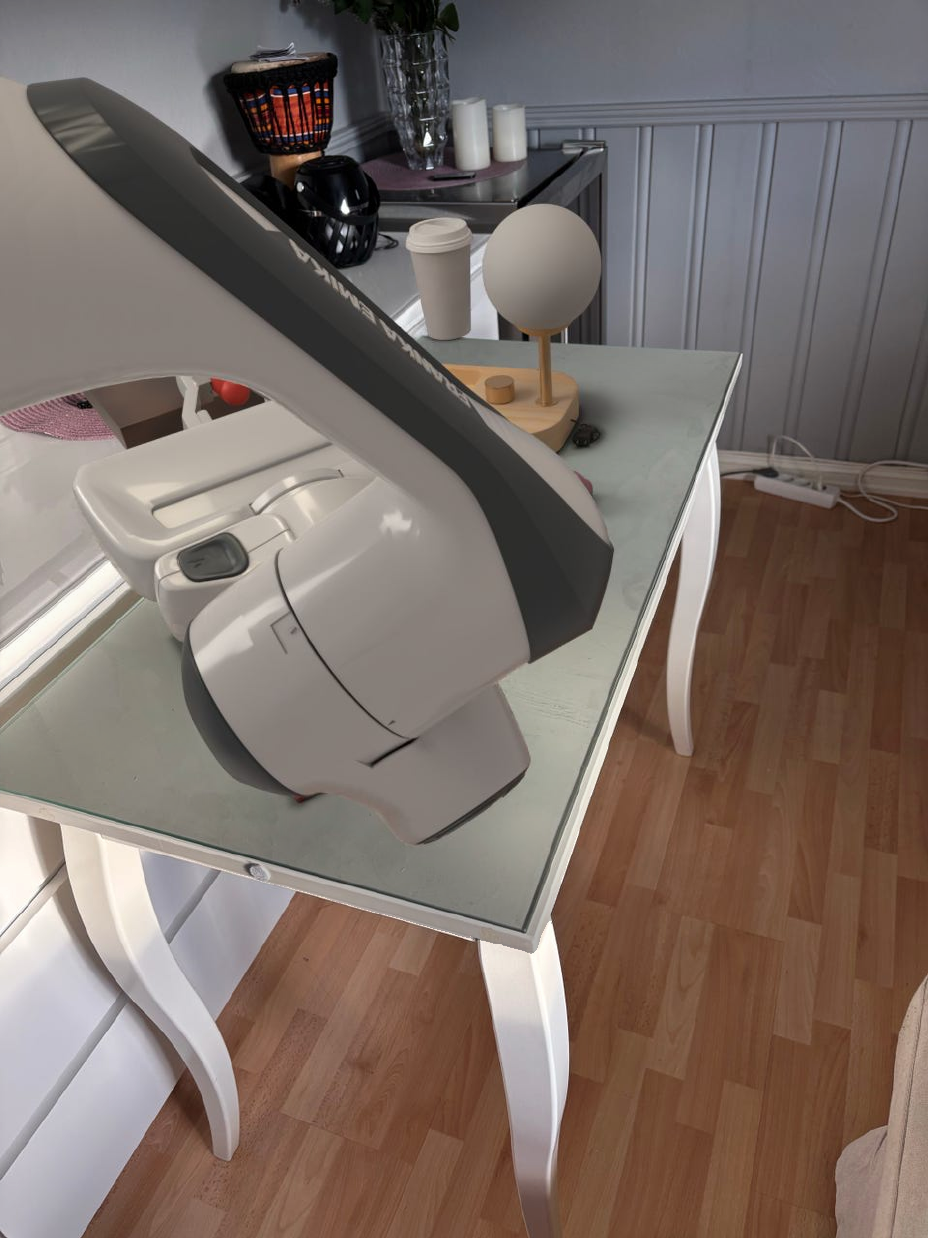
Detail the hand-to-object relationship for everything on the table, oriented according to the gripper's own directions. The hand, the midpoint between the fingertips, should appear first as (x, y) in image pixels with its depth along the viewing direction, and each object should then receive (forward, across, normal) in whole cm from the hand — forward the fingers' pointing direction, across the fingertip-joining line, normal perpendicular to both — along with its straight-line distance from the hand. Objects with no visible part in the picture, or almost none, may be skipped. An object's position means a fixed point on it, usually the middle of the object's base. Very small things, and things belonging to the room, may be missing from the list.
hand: (211, 364), depth 53 cm
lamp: (+16, -38, +46) cm, 62 cm away
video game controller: (-2, -34, +35) cm, 49 cm away
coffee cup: (+40, -52, +59) cm, 88 cm away
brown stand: (-4, 0, +34) cm, 34 cm away
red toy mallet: (+4, 0, +4) cm, 6 cm away
